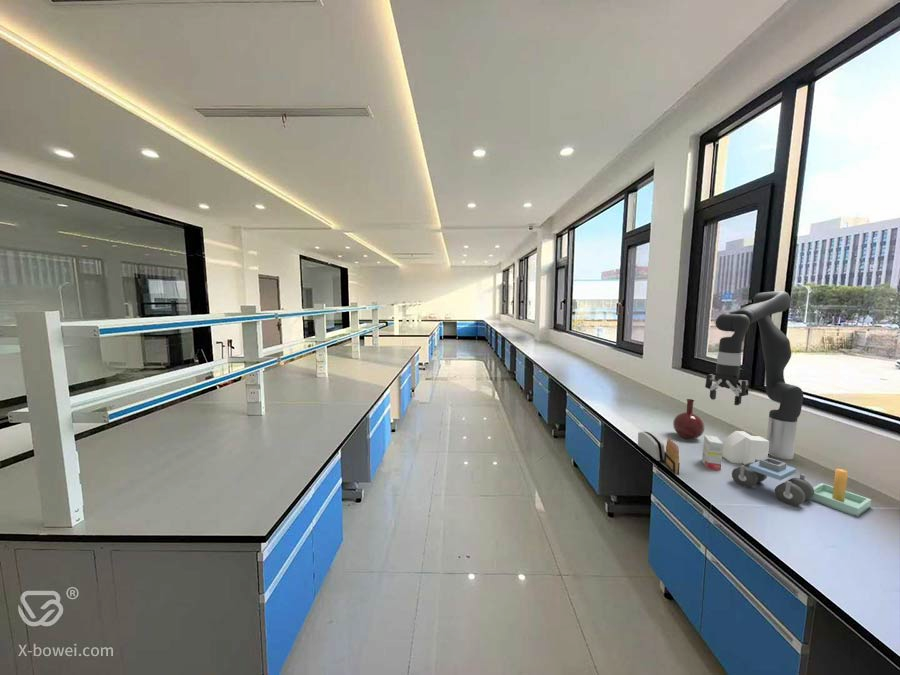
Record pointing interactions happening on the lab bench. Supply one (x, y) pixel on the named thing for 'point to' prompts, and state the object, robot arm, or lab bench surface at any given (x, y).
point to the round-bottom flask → (688, 423)
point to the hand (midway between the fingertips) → (724, 402)
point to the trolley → (786, 492)
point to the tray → (851, 503)
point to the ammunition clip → (672, 457)
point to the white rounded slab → (651, 445)
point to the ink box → (712, 452)
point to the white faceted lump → (744, 448)
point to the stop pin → (840, 485)
